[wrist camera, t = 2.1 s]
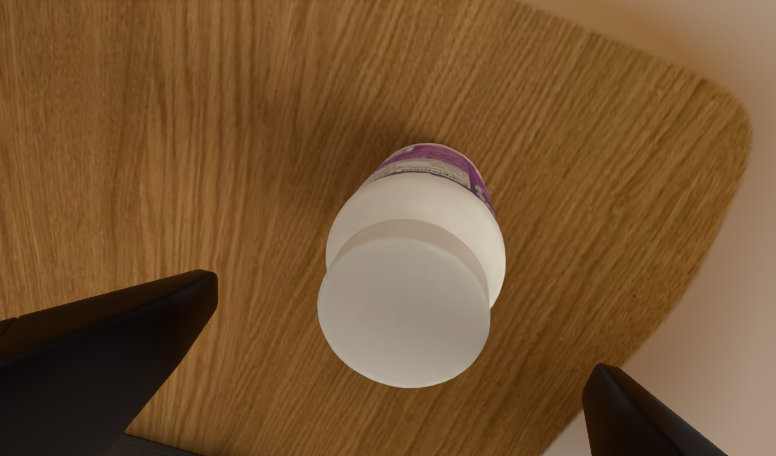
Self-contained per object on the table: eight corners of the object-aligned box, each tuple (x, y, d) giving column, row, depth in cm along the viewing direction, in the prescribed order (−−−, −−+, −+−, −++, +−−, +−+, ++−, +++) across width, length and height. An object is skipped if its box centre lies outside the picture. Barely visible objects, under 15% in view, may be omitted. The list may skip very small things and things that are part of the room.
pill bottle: (480, 256, 18) (507, 429, 9) (370, 247, 19) (296, 399, 10) (493, 141, 16) (544, 218, 7) (370, 137, 17) (276, 201, 8)
